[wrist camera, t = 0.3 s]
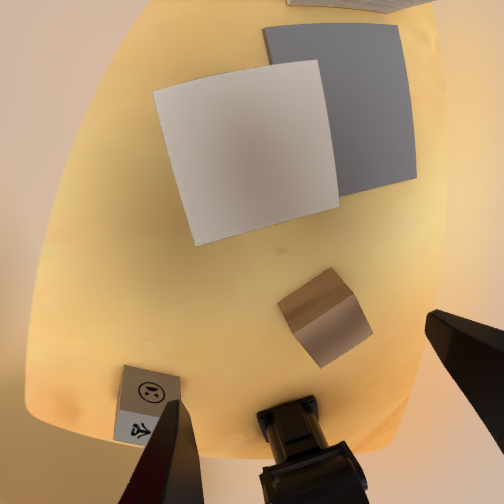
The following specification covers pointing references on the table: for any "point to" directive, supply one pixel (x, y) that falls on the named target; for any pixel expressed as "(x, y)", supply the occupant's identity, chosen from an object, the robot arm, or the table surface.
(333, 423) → the table surface
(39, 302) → the table surface
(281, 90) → the tea tin
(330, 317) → the walnut block
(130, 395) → the dice cube
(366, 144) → the felt coaster
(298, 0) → the small box
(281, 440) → the robot arm
